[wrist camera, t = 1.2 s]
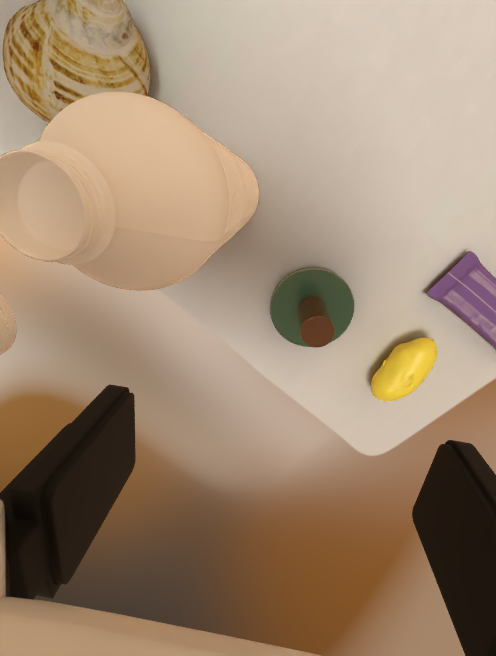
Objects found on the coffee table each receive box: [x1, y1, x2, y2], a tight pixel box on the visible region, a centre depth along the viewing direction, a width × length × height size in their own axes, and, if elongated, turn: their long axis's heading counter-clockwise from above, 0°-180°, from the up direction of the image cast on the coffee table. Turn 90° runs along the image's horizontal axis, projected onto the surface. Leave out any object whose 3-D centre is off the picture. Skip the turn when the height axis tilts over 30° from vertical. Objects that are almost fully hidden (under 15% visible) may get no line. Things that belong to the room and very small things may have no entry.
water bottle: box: [0, 92, 259, 355], centre depth 19 cm, size 9×6×25 cm
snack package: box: [427, 251, 496, 348], centre depth 31 cm, size 12×2×5 cm
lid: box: [270, 268, 354, 347], centre depth 30 cm, size 8×8×7 cm
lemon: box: [371, 338, 437, 401], centre depth 33 cm, size 4×8×4 cm, turn 145°
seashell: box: [3, 0, 151, 123], centre depth 24 cm, size 10×10×10 cm
